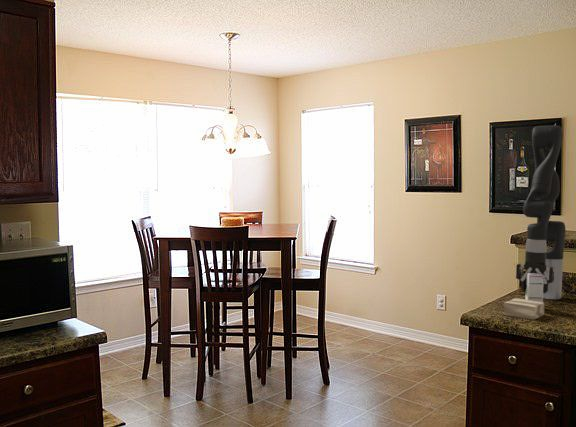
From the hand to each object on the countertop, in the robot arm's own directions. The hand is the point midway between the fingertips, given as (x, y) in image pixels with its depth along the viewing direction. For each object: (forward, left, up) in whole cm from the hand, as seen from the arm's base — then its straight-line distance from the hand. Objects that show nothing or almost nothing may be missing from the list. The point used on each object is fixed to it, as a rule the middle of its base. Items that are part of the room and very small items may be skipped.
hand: (534, 291), depth 230 cm
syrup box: (0, 0, -7) cm, 7 cm away
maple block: (+12, 0, -7) cm, 14 cm away
